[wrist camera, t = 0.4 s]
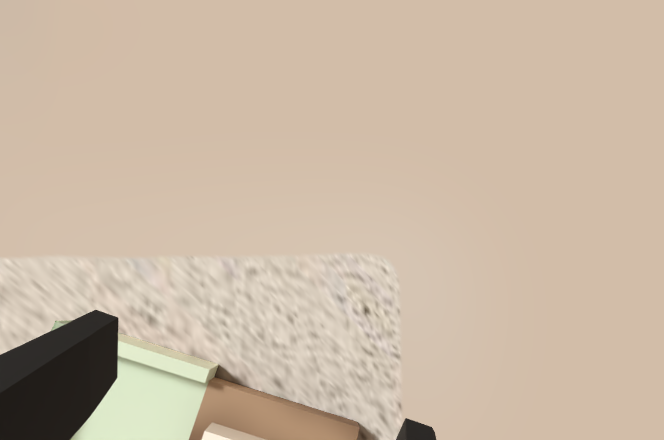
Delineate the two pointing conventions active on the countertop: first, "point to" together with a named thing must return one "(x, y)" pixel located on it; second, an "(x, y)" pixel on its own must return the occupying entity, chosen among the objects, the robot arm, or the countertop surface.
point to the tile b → (226, 434)
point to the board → (267, 415)
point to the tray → (149, 394)
